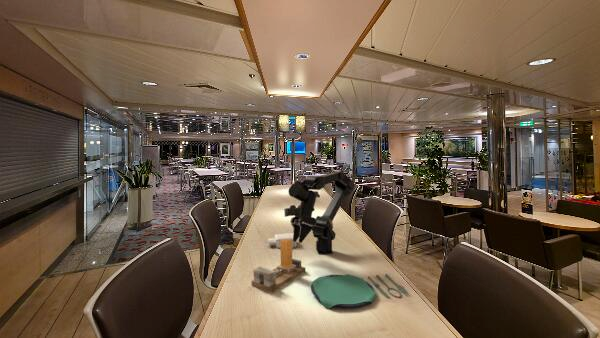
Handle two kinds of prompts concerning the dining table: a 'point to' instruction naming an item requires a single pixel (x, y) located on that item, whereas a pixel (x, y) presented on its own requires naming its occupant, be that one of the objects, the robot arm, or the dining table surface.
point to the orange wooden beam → (286, 257)
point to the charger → (280, 237)
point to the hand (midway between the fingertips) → (297, 242)
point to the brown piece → (275, 277)
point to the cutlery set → (348, 290)
